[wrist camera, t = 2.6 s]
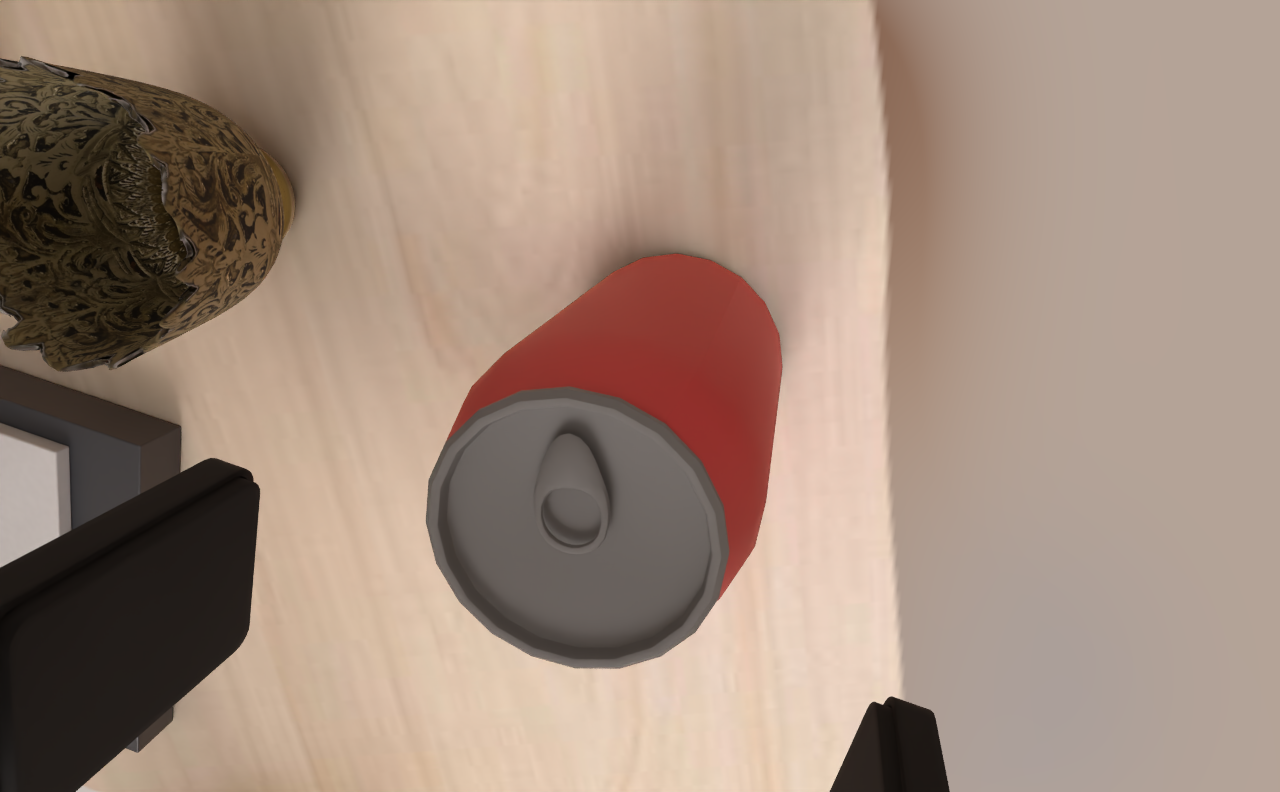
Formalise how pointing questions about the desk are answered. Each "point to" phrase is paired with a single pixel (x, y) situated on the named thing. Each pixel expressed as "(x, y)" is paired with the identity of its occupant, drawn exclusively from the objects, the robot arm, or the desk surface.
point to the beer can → (613, 466)
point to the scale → (73, 467)
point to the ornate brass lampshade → (125, 214)
